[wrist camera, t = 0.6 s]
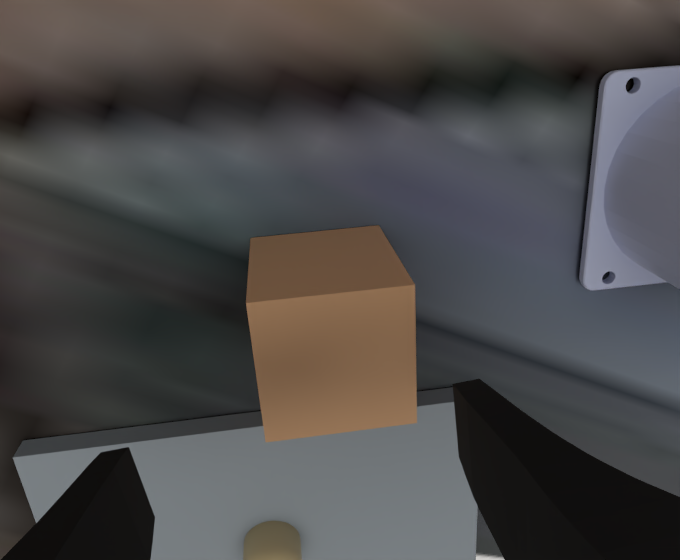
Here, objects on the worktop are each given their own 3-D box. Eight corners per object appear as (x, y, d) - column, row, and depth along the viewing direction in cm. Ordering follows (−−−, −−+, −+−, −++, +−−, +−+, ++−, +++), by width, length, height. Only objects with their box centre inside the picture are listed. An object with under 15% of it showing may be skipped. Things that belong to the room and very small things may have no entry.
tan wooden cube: (378, 224, 21) (415, 284, 16) (383, 337, 23) (416, 423, 18) (250, 237, 21) (246, 302, 15) (265, 351, 22) (265, 442, 17)
